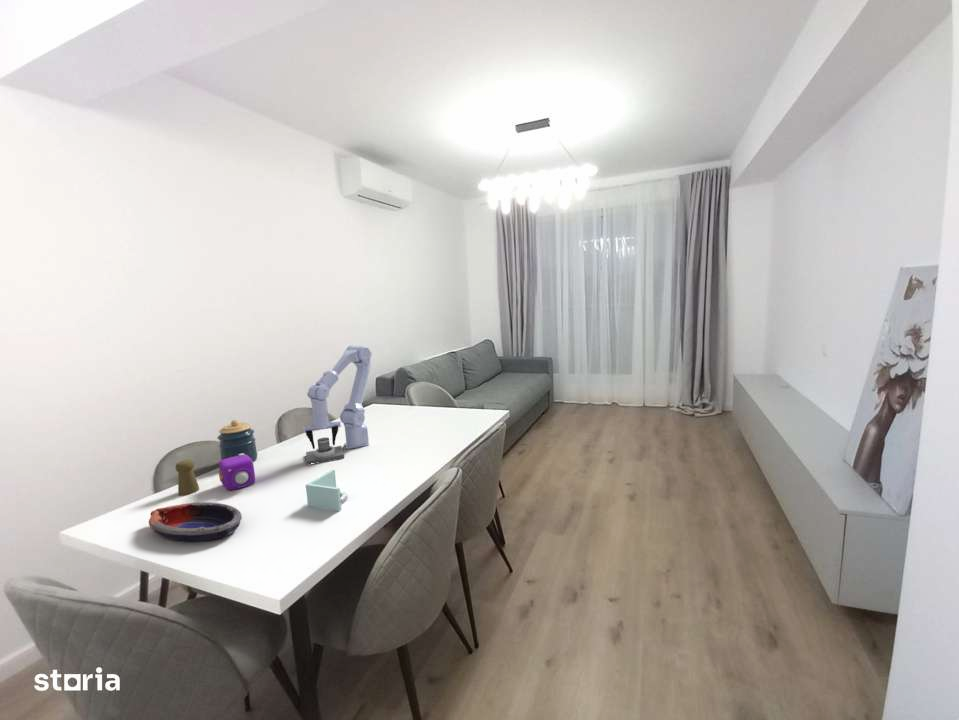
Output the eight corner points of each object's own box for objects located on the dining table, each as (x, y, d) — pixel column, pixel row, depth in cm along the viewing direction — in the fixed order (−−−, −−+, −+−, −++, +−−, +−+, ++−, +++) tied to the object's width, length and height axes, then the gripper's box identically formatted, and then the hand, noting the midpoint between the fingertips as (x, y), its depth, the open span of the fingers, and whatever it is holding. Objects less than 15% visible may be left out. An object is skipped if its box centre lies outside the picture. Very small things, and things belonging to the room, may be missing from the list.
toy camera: (232, 496, 137) (228, 468, 135) (215, 487, 145) (211, 460, 144) (265, 484, 145) (261, 457, 144) (247, 476, 154) (244, 450, 152)
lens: (330, 450, 172) (328, 436, 171) (330, 454, 168) (329, 439, 167) (318, 452, 170) (317, 438, 169) (319, 456, 166) (317, 441, 165)
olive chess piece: (197, 486, 147) (192, 456, 145) (201, 490, 142) (196, 460, 141) (176, 492, 143) (171, 461, 141) (179, 497, 138) (174, 466, 137)
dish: (208, 554, 105) (206, 535, 104) (130, 536, 116) (127, 519, 115) (259, 522, 119) (257, 506, 119) (186, 509, 130) (183, 494, 129)
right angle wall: (339, 512, 123) (337, 489, 122) (308, 507, 128) (305, 484, 126) (364, 494, 134) (362, 473, 133) (334, 490, 139) (332, 469, 138)
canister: (242, 468, 161) (236, 425, 158) (213, 467, 163) (207, 424, 161) (264, 456, 174) (259, 415, 171) (238, 455, 176) (232, 415, 174)
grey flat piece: (341, 449, 178) (340, 442, 177) (344, 458, 167) (343, 451, 166) (306, 455, 172) (305, 448, 172) (307, 465, 161) (306, 457, 161)
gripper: (301, 419, 160) (305, 452, 162) (340, 413, 166) (343, 446, 168) (300, 415, 167) (304, 447, 169) (338, 409, 172) (341, 441, 174)
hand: (323, 446), depth 169 cm, fingers open, 7 cm apart
